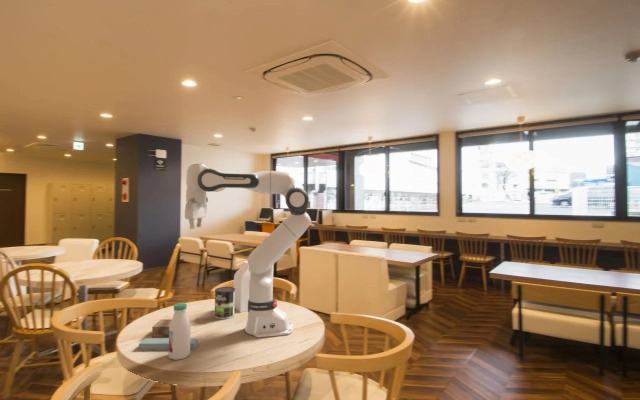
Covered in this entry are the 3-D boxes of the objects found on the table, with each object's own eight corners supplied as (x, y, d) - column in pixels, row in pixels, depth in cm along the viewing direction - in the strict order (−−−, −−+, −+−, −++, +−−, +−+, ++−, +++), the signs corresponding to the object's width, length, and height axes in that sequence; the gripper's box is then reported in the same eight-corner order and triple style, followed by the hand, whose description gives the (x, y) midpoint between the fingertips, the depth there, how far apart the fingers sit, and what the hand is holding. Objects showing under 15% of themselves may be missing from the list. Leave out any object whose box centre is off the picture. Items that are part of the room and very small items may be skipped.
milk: (259, 308, 182) (260, 262, 182) (240, 312, 175) (241, 264, 175) (250, 303, 192) (251, 259, 192) (232, 306, 185) (232, 261, 185)
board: (198, 345, 136) (198, 338, 136) (193, 350, 131) (193, 343, 131) (145, 345, 135) (145, 338, 135) (138, 350, 130) (138, 343, 130)
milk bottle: (193, 351, 130) (193, 301, 130) (185, 360, 122) (186, 307, 122) (173, 351, 129) (174, 301, 129) (165, 360, 122) (165, 307, 122)
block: (180, 329, 151) (180, 319, 151) (173, 337, 142) (173, 326, 142) (160, 330, 151) (160, 319, 151) (152, 338, 142) (152, 326, 142)
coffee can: (227, 320, 163) (227, 292, 163) (210, 317, 166) (210, 290, 167) (238, 313, 173) (238, 287, 173) (222, 311, 176) (222, 285, 176)
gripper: (195, 198, 140) (195, 230, 140) (209, 198, 161) (208, 226, 161) (181, 198, 140) (180, 229, 140) (196, 198, 160) (195, 226, 160)
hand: (195, 228), depth 150 cm, fingers open, 8 cm apart
